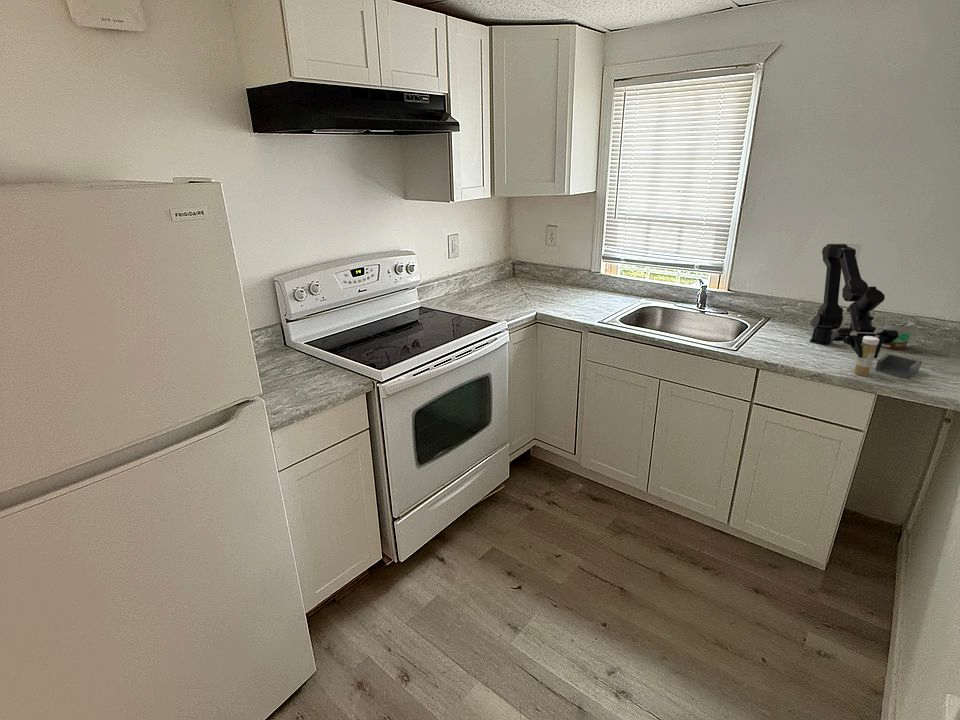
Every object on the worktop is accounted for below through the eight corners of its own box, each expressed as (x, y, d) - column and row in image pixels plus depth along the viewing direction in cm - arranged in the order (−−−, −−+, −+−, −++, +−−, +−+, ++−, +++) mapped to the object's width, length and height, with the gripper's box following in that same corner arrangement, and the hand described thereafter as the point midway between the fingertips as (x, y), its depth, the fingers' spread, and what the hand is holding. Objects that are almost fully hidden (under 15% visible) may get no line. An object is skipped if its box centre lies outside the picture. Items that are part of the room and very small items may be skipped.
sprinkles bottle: (850, 371, 182) (860, 335, 177) (862, 371, 182) (872, 335, 177) (860, 376, 178) (870, 340, 173) (872, 376, 178) (883, 339, 173)
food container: (893, 353, 198) (900, 328, 194) (877, 347, 204) (884, 323, 200) (917, 349, 201) (924, 324, 197) (901, 344, 207) (908, 320, 203)
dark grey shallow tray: (874, 370, 183) (878, 360, 181) (884, 363, 188) (887, 353, 187) (909, 379, 175) (913, 368, 174) (918, 371, 181) (921, 361, 180)
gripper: (877, 328, 188) (885, 368, 182) (821, 326, 191) (827, 365, 185) (895, 314, 178) (904, 355, 172) (835, 312, 181) (842, 352, 175)
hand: (868, 357), depth 176 cm, fingers closed on sprinkles bottle, 4 cm apart
